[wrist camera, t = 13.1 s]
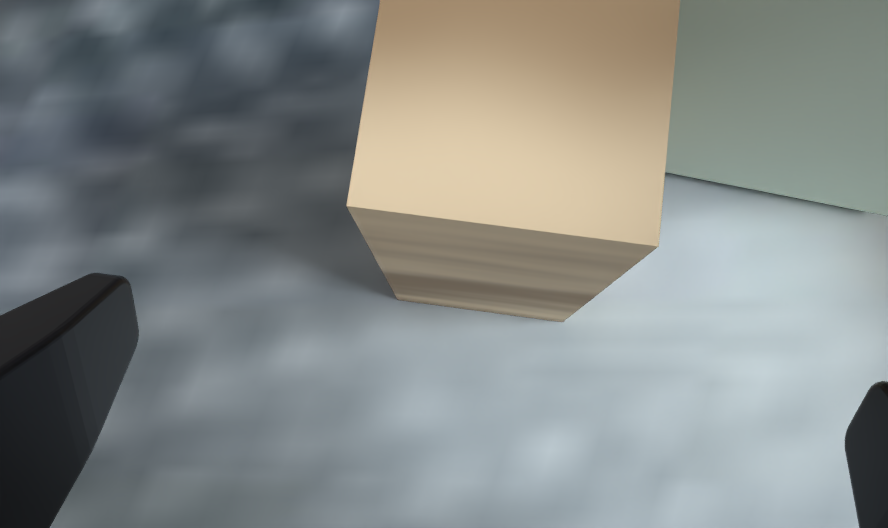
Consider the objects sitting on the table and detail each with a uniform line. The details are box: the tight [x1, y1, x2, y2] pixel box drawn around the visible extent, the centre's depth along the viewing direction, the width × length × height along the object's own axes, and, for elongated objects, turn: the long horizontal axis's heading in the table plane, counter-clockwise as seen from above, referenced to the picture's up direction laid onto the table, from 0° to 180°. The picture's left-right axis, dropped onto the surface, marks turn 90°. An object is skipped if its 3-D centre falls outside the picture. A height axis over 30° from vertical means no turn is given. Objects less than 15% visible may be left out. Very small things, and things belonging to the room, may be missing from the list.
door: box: [665, 0, 888, 216], centre depth 17 cm, size 12×3×12 cm, turn 78°
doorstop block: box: [346, 0, 680, 322], centre depth 18 cm, size 4×5×11 cm
